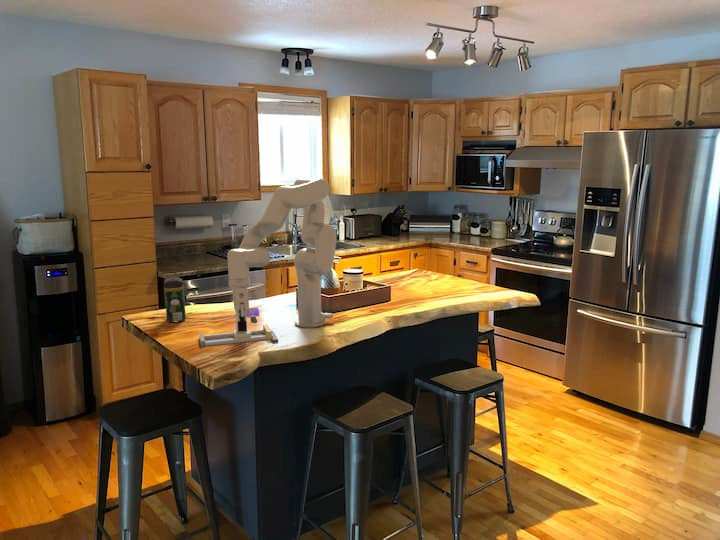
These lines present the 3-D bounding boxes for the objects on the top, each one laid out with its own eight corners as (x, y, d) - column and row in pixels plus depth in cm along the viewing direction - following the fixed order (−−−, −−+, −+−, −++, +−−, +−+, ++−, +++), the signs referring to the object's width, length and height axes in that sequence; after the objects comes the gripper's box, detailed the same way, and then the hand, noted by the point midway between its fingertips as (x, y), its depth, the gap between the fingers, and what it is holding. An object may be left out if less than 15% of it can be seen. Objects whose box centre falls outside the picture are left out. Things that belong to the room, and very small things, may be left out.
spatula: (263, 327, 242) (263, 321, 242) (246, 328, 241) (246, 323, 240) (258, 312, 265) (258, 307, 265) (243, 314, 263) (242, 308, 263)
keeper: (249, 334, 227) (247, 310, 225) (251, 339, 221) (250, 315, 219) (233, 336, 225) (231, 312, 223) (235, 340, 219) (233, 316, 217)
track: (272, 333, 233) (272, 323, 232) (278, 342, 221) (277, 331, 221) (199, 340, 224) (198, 330, 224) (201, 350, 213) (200, 339, 212)
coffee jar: (167, 317, 257) (163, 276, 254) (186, 316, 259) (183, 274, 256) (165, 323, 248) (162, 280, 245) (185, 322, 250) (182, 279, 247)
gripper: (252, 286, 212) (254, 334, 216) (246, 277, 228) (248, 322, 231) (231, 287, 210) (233, 336, 213) (226, 278, 226) (229, 324, 229)
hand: (241, 329), depth 222 cm, fingers closed on keeper, 4 cm apart
